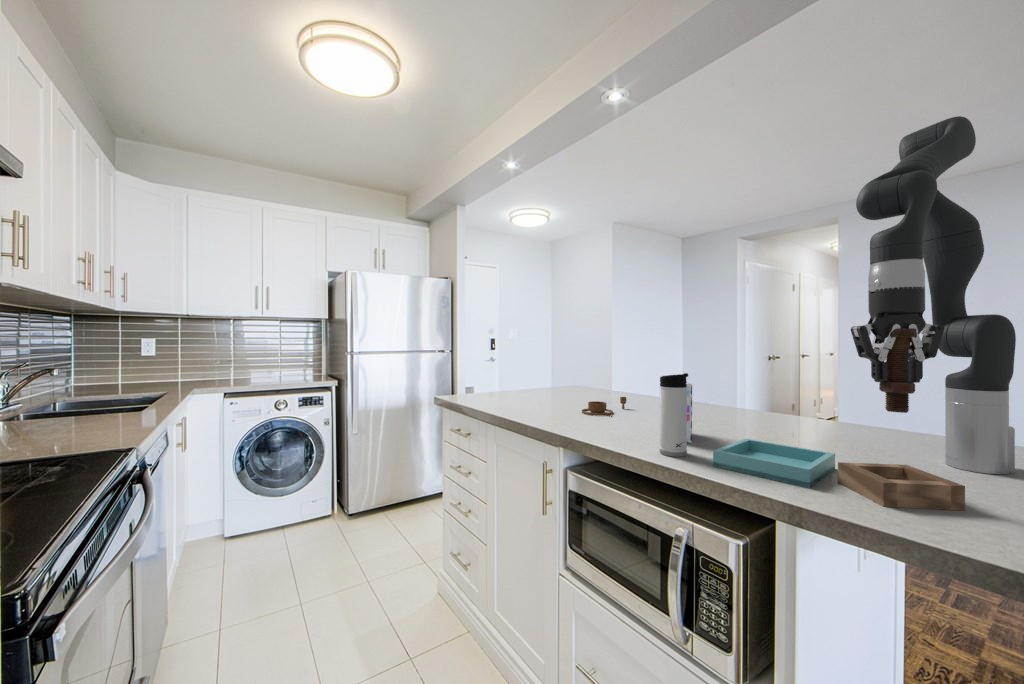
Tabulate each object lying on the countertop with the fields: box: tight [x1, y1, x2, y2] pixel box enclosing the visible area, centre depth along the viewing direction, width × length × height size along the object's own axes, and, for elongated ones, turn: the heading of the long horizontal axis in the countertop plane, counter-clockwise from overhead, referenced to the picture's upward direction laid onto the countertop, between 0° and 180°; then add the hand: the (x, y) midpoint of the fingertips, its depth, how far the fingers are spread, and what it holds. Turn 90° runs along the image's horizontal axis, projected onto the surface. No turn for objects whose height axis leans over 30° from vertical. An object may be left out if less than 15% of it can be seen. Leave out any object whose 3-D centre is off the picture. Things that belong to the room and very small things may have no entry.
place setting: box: [581, 396, 627, 418], centre depth 161 cm, size 18×20×6 cm
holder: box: [837, 461, 966, 511], centre depth 75 cm, size 12×12×4 cm
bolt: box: [878, 328, 917, 414], centre depth 75 cm, size 6×5×15 cm
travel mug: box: [659, 372, 689, 458], centre depth 103 cm, size 6×7×20 cm
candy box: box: [686, 382, 693, 444], centre depth 120 cm, size 14×6×16 cm, turn 170°
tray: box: [712, 438, 836, 489], centre depth 91 cm, size 18×18×4 cm
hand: (896, 381), depth 75 cm, fingers closed on bolt, 4 cm apart
